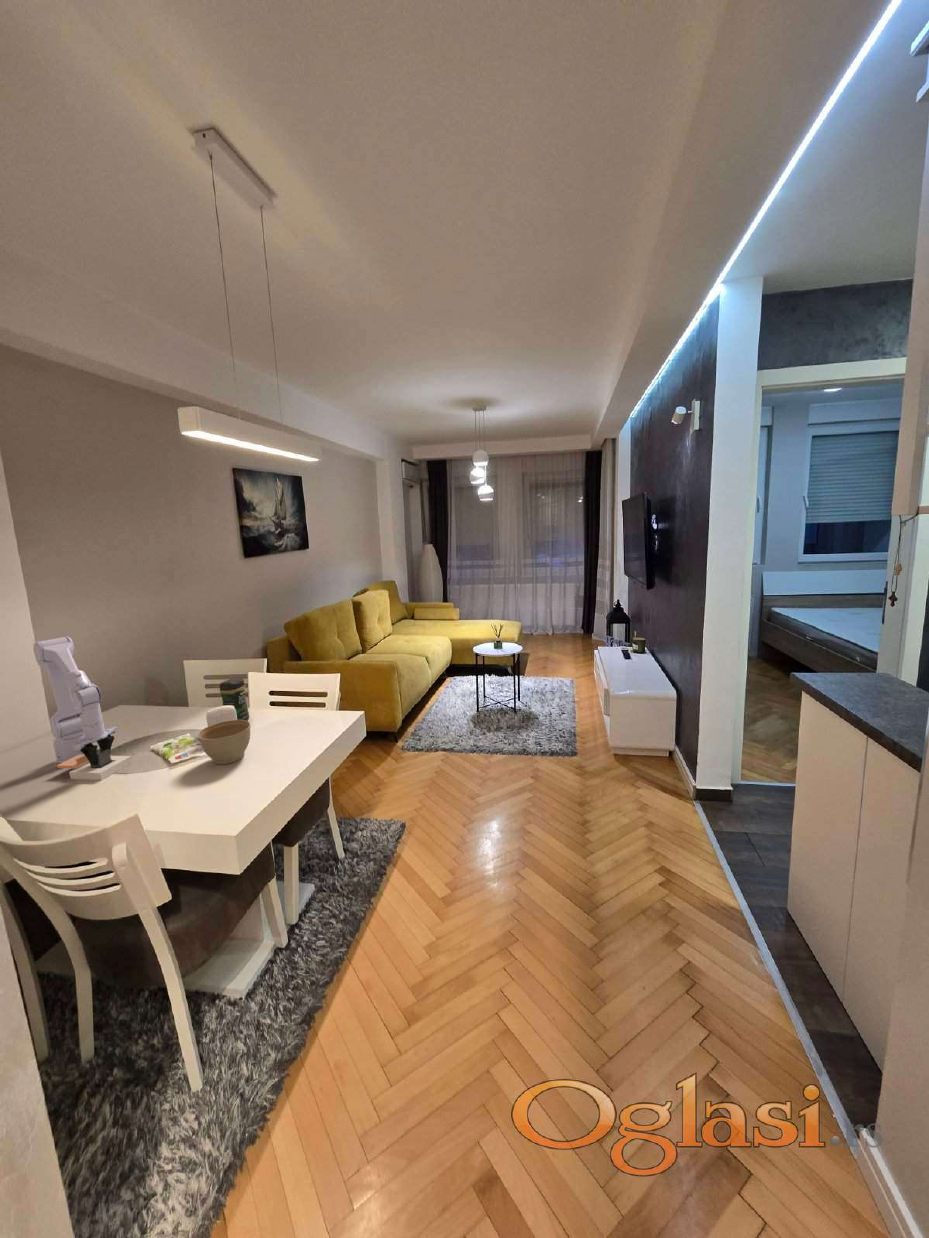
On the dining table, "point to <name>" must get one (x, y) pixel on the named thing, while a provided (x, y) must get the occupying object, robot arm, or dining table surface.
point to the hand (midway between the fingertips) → (100, 761)
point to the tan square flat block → (74, 762)
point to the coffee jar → (235, 696)
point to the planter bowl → (225, 740)
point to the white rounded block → (221, 714)
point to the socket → (101, 769)
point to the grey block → (102, 758)
